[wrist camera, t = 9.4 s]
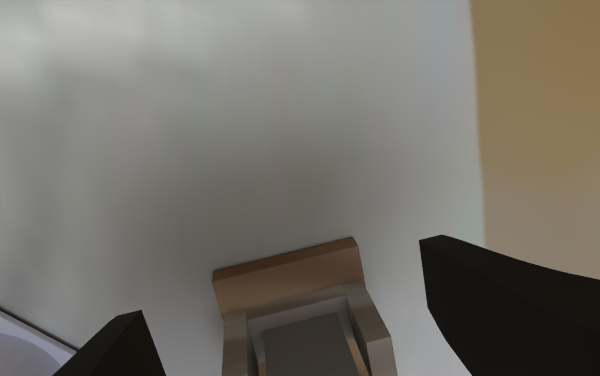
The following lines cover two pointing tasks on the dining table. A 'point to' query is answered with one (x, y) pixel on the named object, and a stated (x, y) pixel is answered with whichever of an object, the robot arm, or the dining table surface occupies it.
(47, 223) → the dining table surface
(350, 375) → the grey rectangular block
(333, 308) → the cradle
